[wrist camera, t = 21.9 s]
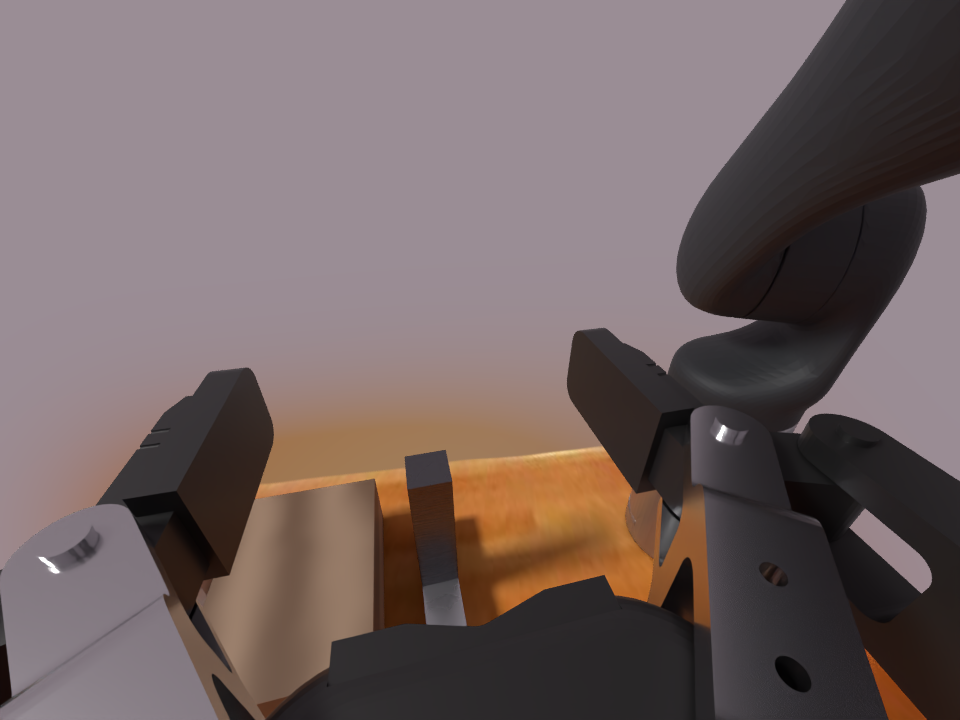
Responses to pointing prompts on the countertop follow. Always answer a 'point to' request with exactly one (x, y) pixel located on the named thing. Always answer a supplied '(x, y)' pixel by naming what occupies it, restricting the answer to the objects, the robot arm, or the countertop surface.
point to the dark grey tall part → (435, 536)
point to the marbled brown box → (300, 586)
